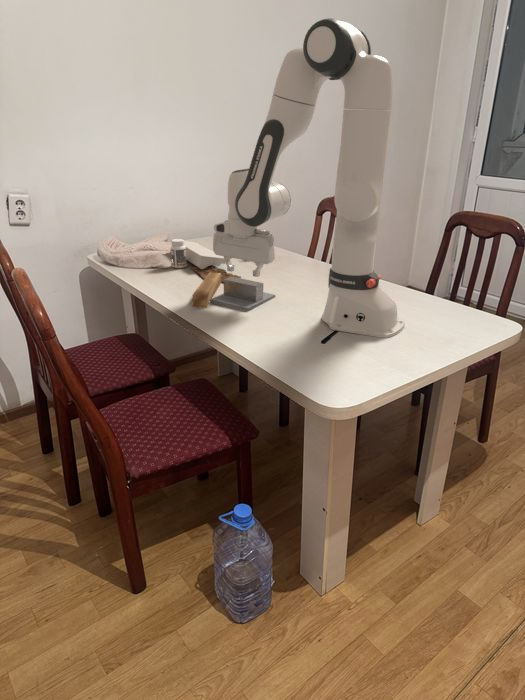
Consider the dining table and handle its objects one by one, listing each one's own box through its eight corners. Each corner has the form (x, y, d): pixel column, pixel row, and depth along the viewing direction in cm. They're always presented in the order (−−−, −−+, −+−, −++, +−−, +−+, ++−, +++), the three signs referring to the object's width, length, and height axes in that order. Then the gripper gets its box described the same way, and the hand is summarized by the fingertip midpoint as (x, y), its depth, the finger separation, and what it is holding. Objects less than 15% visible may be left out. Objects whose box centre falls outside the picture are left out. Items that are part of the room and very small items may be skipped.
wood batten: (221, 284, 173) (220, 273, 171) (206, 308, 151) (205, 295, 149) (209, 283, 173) (209, 272, 172) (192, 307, 152) (192, 295, 150)
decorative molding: (193, 253, 216) (171, 250, 212) (195, 242, 215) (172, 239, 210) (224, 271, 188) (199, 268, 184) (226, 258, 187) (201, 255, 182)
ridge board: (275, 298, 159) (275, 279, 157) (248, 312, 148) (248, 291, 145) (238, 290, 166) (238, 271, 164) (210, 302, 155) (209, 283, 152)
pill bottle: (188, 264, 194) (187, 238, 189) (184, 268, 188) (183, 242, 184) (174, 264, 194) (172, 238, 190) (169, 268, 189) (168, 241, 185)
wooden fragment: (247, 280, 174) (247, 277, 174) (221, 289, 168) (221, 286, 168) (207, 264, 193) (206, 261, 192) (182, 271, 187) (181, 268, 186)
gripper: (279, 229, 145) (278, 276, 151) (222, 221, 155) (223, 266, 161) (267, 233, 140) (266, 282, 146) (209, 224, 150) (210, 270, 156)
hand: (243, 273), depth 153 cm, fingers open, 8 cm apart
